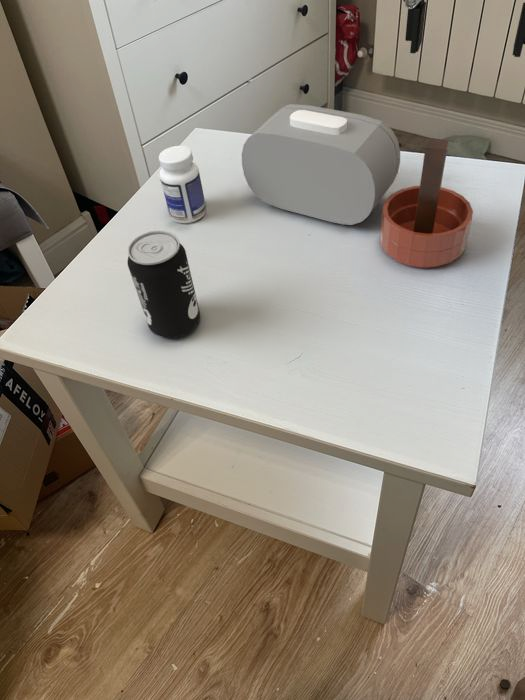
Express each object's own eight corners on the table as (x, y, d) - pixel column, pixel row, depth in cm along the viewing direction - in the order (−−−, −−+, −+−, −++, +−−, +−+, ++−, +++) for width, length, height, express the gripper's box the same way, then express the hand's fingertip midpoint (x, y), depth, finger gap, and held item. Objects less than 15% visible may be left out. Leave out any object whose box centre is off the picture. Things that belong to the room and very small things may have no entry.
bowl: (468, 224, 79) (476, 190, 75) (459, 276, 72) (468, 241, 68) (388, 214, 82) (391, 181, 78) (372, 263, 75) (375, 229, 71)
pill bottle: (201, 199, 89) (190, 139, 81) (211, 218, 85) (200, 158, 78) (166, 208, 88) (151, 149, 80) (174, 228, 84) (159, 168, 77)
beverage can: (189, 346, 68) (168, 269, 59) (140, 336, 70) (113, 261, 61) (208, 308, 72) (192, 231, 63) (162, 300, 74) (139, 224, 65)
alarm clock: (397, 201, 84) (406, 113, 74) (371, 237, 79) (378, 147, 69) (276, 172, 92) (271, 89, 82) (246, 203, 87) (236, 119, 77)
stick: (432, 235, 77) (449, 139, 67) (429, 246, 76) (446, 149, 65) (414, 233, 78) (428, 137, 67) (411, 244, 76) (425, 147, 66)
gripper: (381, -170, 44) (370, 61, 56) (633, -190, 39) (559, 69, 51) (399, -183, 48) (385, 33, 61) (626, -202, 43) (560, 38, 56)
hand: (465, 49), depth 56 cm, fingers open, 9 cm apart
